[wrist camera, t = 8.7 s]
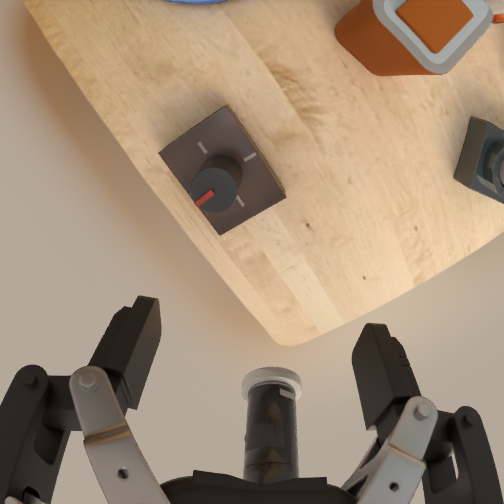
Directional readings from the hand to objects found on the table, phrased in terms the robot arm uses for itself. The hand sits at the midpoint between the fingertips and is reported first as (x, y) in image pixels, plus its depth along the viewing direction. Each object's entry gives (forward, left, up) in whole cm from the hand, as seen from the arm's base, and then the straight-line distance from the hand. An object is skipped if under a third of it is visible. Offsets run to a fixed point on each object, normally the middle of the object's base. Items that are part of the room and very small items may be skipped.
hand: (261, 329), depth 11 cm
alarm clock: (+21, -11, -26) cm, 35 cm away
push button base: (+9, -29, -26) cm, 40 cm away
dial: (-2, +4, -24) cm, 24 cm away
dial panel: (-1, +4, -26) cm, 27 cm away
